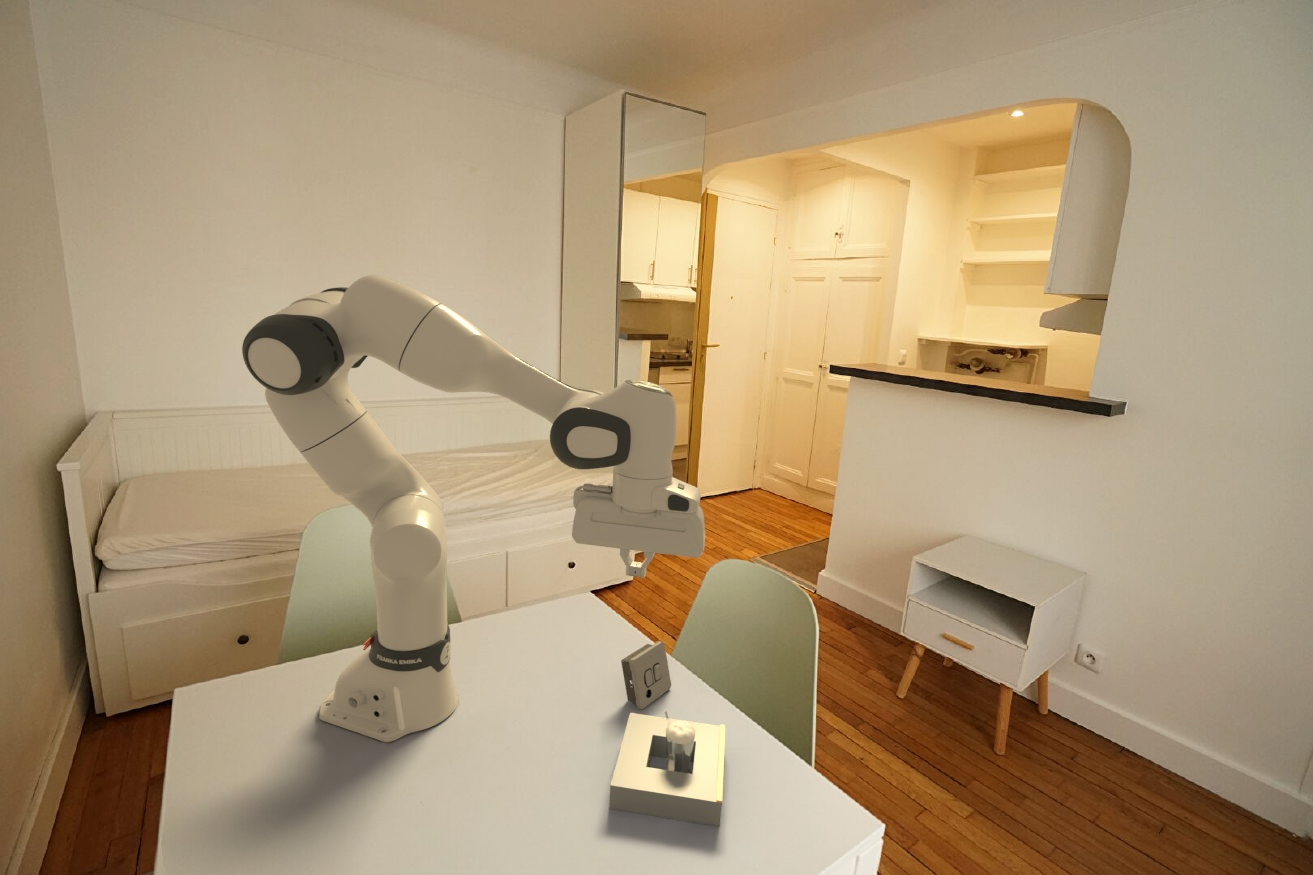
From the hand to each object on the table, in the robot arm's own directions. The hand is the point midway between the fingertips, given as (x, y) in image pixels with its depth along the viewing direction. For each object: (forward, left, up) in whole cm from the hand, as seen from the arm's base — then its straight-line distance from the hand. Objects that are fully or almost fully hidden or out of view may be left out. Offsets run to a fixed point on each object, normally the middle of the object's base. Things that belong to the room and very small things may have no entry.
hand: (635, 575), depth 94 cm
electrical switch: (+1, +14, -31) cm, 34 cm away
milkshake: (+9, -5, -31) cm, 32 cm away
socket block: (+8, -5, -31) cm, 32 cm away
